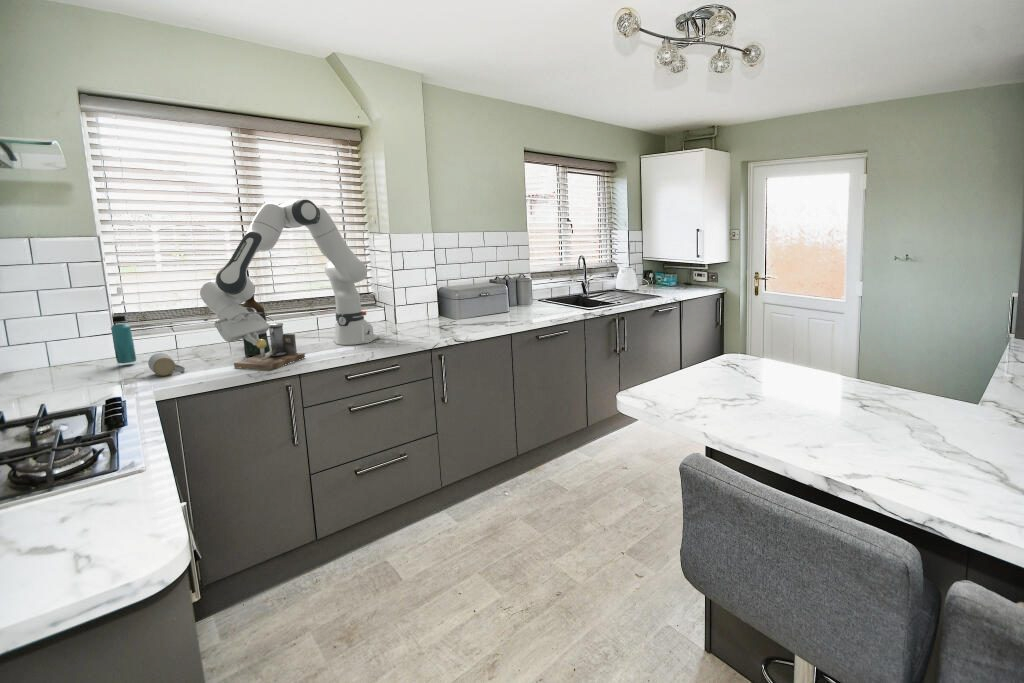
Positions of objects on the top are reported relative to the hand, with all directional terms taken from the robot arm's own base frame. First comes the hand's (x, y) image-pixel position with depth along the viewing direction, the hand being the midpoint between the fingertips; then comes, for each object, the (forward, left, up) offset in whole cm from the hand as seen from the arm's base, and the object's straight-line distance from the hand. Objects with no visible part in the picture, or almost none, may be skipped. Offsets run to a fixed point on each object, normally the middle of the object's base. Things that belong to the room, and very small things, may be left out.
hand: (258, 343), depth 201 cm
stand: (-9, -3, -10) cm, 13 cm away
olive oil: (-34, -32, -10) cm, 48 cm away
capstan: (-7, 0, -8) cm, 10 cm away
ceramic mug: (+14, -30, -10) cm, 34 cm away
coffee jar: (-19, -18, -10) cm, 28 cm away
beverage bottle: (+7, -58, -10) cm, 59 cm away
